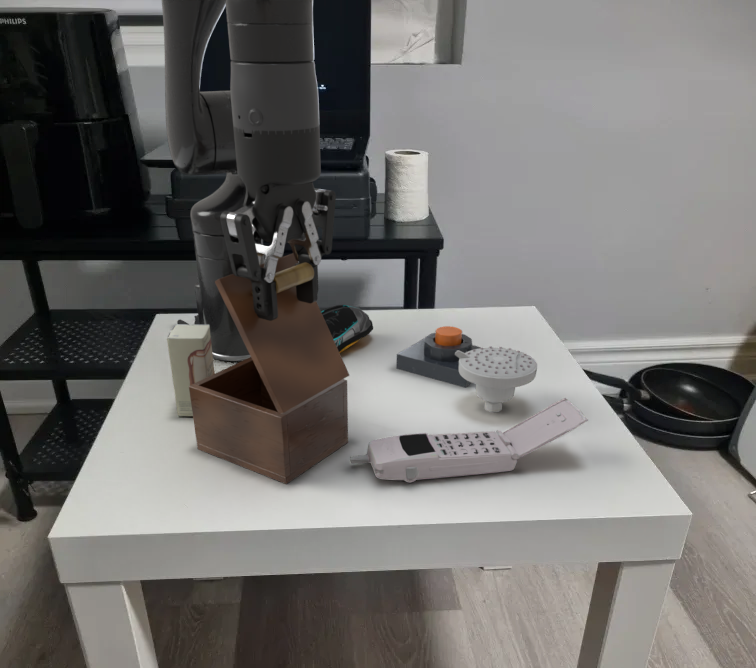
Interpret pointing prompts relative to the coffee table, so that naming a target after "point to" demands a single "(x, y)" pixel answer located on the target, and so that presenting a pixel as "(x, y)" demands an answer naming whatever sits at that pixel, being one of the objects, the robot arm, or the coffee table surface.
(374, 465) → the mobile phone
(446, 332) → the button
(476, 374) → the showerhead
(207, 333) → the off-white upright block
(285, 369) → the lid
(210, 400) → the chest
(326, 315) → the computer mouse
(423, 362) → the control block
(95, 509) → the coffee table surface
